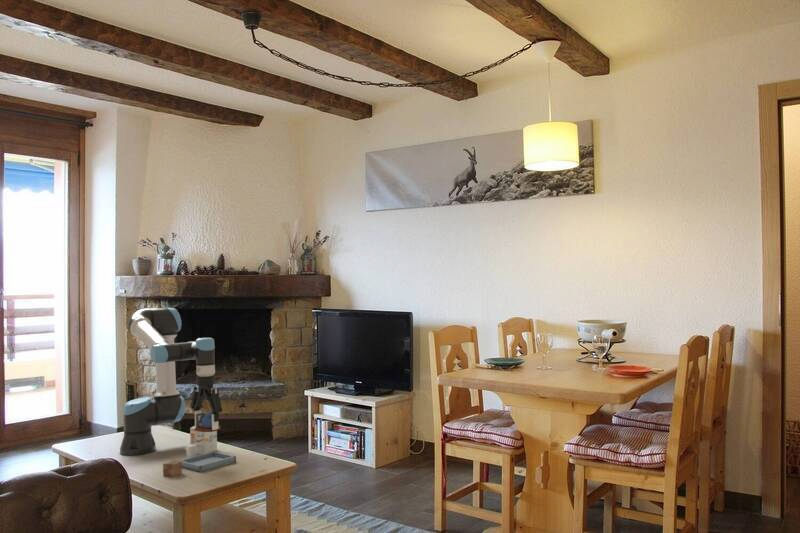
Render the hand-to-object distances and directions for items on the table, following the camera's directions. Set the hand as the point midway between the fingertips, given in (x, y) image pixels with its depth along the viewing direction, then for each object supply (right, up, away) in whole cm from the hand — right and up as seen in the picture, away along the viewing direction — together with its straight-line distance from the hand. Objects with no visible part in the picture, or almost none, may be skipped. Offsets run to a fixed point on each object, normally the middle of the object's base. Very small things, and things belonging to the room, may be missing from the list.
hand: (206, 427), depth 274 cm
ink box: (-7, -16, +21) cm, 27 cm away
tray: (0, -15, 0) cm, 15 cm away
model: (0, -1, +1) cm, 1 cm away
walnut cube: (-9, -15, -14) cm, 23 cm away
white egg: (-9, -16, +8) cm, 19 cm away
